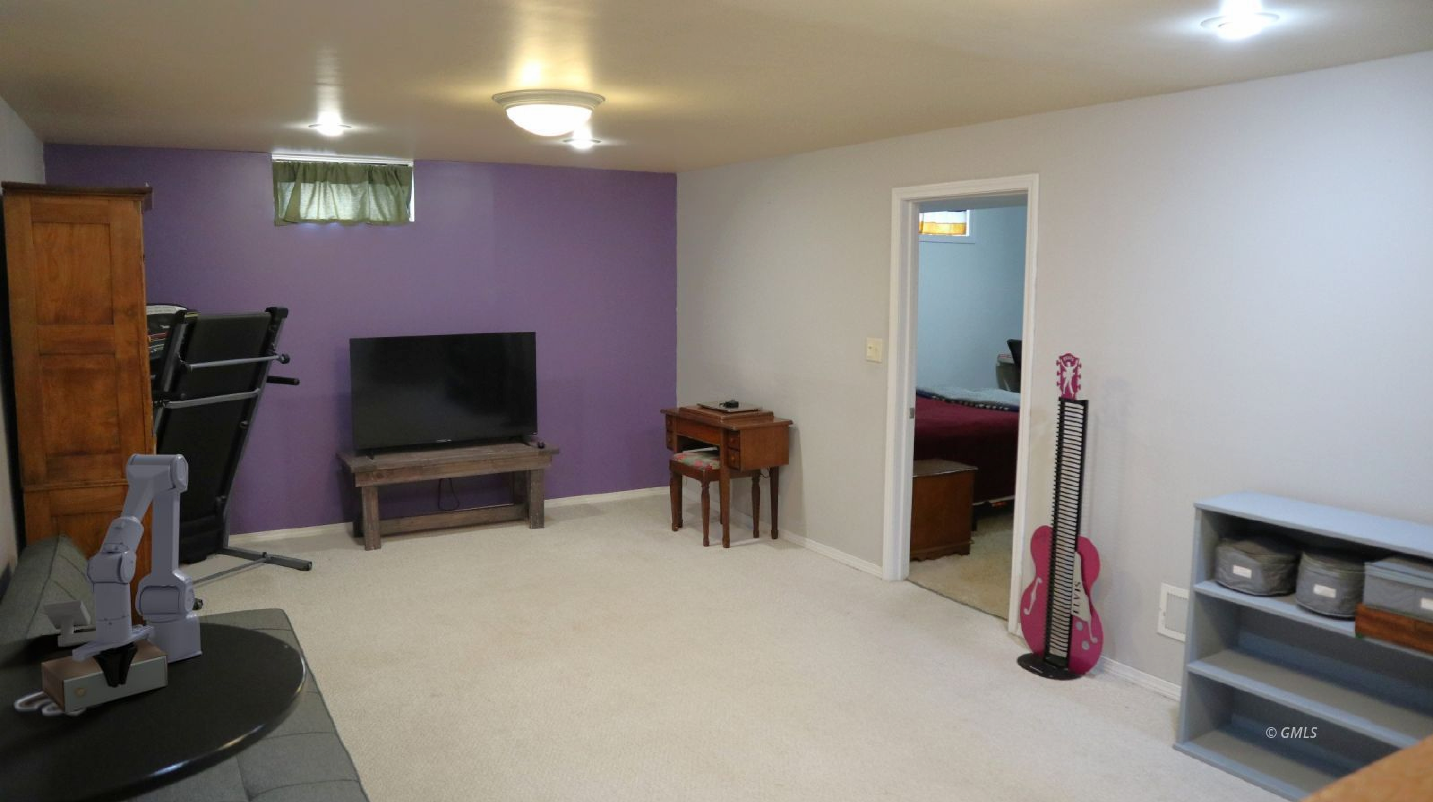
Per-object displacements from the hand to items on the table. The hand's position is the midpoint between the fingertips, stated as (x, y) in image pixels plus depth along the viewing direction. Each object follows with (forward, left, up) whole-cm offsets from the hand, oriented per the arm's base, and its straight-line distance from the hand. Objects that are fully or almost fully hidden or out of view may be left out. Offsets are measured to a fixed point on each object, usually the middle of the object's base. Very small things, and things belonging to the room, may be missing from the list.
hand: (116, 684), depth 182 cm
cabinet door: (-1, -1, -3) cm, 4 cm away
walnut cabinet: (-1, -9, -4) cm, 9 cm away
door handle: (-9, -41, -4) cm, 42 cm away
